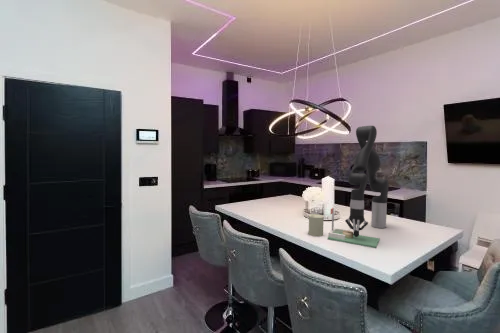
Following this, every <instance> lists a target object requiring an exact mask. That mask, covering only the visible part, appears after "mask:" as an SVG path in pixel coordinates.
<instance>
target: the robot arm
mask: <svg viewBox="0 0 500 333" xmlns="http://www.w3.org/2000/svg"><path fill="white" fill-rule="evenodd" d="M377 132H378V131H377V127H376V126H375V125H365V126H359V127H357V128H356V130H355V137H356V139H357V143H358V144H359V147H360V148H359V149H360V151H358V153H357V155H356V156H355V161H354V164H353V167H352V169H351V170H350V172H349V174H348V177H347V182H348V183H349V184H350V185H351V186H359V187H358V188H354V189H351V192H350V203H349V217H348V218H346V219H345V223H346V224H347V226H348V227H349V230H350V229H351V230H353V234H354V236H355V237H358V236H359V235H360V231H363V230H364V228H366V227H367V226H368V224H369V222H368V221H367V220H366V218H365V191H366V187H367V185H368V184H369V187H370V190H371V191H372V192H374V193H380V195H377V196H372V199H371V221H370V222H371V223H370V224H371V225H370V226H371V227H373V228H376V229H386V227H387V208H388V207H387V205H388V194H389V181H388V179H386V178H377V177H376V174H377V172H378V170H379V169H380V167H381V160H380V159H381V158H380V156H379V153H377V151H376V150H374V149H373V147H374V145H375V141H376V138H377ZM365 171H367V174H366V173H363V172H365ZM368 182H369V183H368ZM362 224H363V225H362ZM361 225H362V226H361ZM360 226H361V227H360Z"/></svg>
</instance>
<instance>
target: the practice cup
mask: <svg viewBox="0 0 500 333" xmlns="http://www.w3.org/2000/svg"><path fill="white" fill-rule="evenodd" d="M330 215H331V230H330V231H328V232H327V233H328V235H327V238H328V237H331V238H337V239H342V240H345V236H346V235H343V231H345V230H347V231H351V230H350V229H346V228H345V229H344V228H338V227H334V225H335V223H334V220H335V219H334V218H335V207H332V208H331V209H330ZM337 233H342V234H337Z"/></svg>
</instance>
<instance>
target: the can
mask: <svg viewBox="0 0 500 333" xmlns="http://www.w3.org/2000/svg"><path fill="white" fill-rule="evenodd" d="M324 218H325V216H324V215H323V214H314V213H313V214H309V215H308V233H307V234H308V235H309V236H312V237H323V236H324Z"/></svg>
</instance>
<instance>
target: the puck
mask: <svg viewBox="0 0 500 333" xmlns="http://www.w3.org/2000/svg"><path fill="white" fill-rule="evenodd" d="M347 230H348V229H346V230H345V231H343V235H346V236H345V238H349V239H351V238H353V234H354V231H352V230H350V231H347Z"/></svg>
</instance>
